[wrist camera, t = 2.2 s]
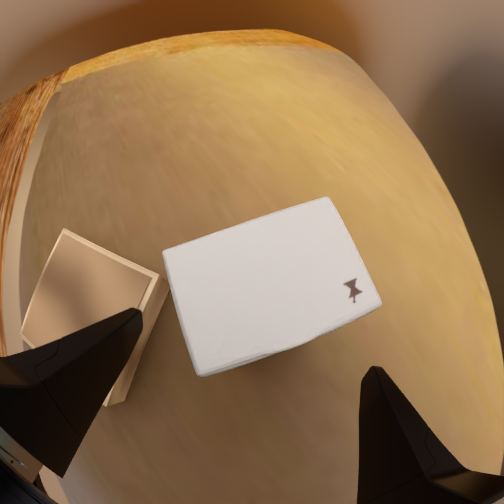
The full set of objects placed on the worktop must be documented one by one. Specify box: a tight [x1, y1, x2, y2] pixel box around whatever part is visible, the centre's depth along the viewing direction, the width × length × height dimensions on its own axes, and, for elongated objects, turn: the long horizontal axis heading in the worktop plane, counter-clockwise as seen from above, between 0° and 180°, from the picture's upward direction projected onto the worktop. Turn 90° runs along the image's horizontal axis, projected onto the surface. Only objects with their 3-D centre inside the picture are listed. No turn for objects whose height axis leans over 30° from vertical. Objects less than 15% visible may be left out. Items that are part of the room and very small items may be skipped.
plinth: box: [20, 228, 170, 407], centre depth 17 cm, size 10×10×3 cm
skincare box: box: [162, 196, 382, 377], centre depth 13 cm, size 6×4×12 cm
